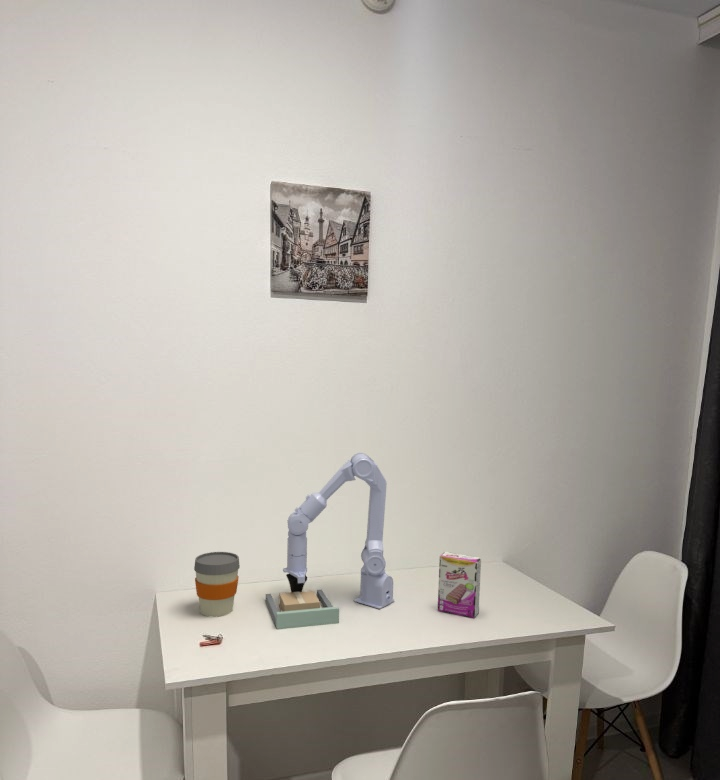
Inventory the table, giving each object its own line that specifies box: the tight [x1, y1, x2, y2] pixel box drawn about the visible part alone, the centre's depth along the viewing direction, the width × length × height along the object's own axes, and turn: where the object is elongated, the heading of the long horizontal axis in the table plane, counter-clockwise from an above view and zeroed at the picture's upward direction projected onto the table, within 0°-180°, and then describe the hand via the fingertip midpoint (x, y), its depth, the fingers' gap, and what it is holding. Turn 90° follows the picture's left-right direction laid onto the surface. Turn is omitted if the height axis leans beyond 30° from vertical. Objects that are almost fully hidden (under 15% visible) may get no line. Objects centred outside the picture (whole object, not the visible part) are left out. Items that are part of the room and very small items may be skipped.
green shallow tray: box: [265, 589, 340, 630], centre depth 181 cm, size 20×17×4 cm
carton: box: [278, 590, 321, 612], centre depth 182 cm, size 9×10×4 cm
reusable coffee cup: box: [193, 551, 240, 618], centre depth 180 cm, size 12×12×15 cm
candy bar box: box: [437, 551, 482, 619], centre depth 183 cm, size 11×5×16 cm, turn 65°
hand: (296, 599), depth 188 cm, fingers closed
